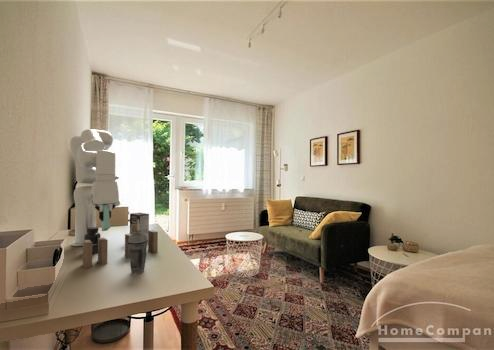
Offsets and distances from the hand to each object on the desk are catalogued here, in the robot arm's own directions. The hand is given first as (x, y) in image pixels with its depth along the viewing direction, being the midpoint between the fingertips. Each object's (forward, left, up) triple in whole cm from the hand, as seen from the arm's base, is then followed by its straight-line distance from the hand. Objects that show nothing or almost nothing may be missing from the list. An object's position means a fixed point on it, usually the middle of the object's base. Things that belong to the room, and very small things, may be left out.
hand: (105, 220), depth 105 cm
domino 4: (+2, +21, -18) cm, 27 cm away
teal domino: (+2, 0, -4) cm, 4 cm away
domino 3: (+2, +10, -18) cm, 20 cm away
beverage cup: (+23, +5, -18) cm, 30 cm away
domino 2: (+2, -1, -18) cm, 18 cm away
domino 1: (+2, -7, -18) cm, 19 cm away
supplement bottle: (-17, -1, -18) cm, 24 cm away
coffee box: (-21, +23, -18) cm, 36 cm away
